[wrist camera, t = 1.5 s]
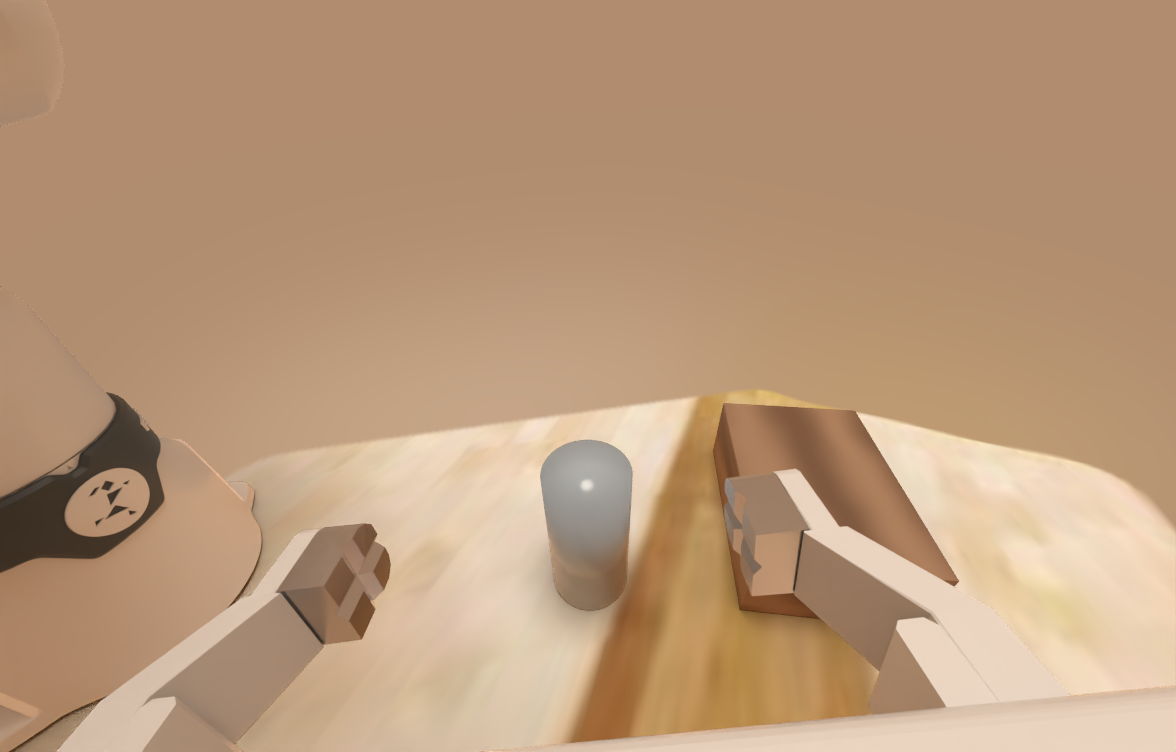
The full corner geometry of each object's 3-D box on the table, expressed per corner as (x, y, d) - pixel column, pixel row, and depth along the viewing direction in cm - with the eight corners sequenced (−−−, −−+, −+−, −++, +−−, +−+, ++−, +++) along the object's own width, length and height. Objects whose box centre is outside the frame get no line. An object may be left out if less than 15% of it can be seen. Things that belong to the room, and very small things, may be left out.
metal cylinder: (547, 605, 29) (530, 506, 22) (560, 536, 33) (550, 437, 27) (624, 614, 28) (630, 515, 22) (628, 543, 33) (634, 442, 26)
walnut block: (739, 609, 28) (759, 561, 25) (713, 450, 40) (723, 403, 37) (913, 629, 27) (958, 581, 24) (832, 459, 39) (854, 410, 36)
